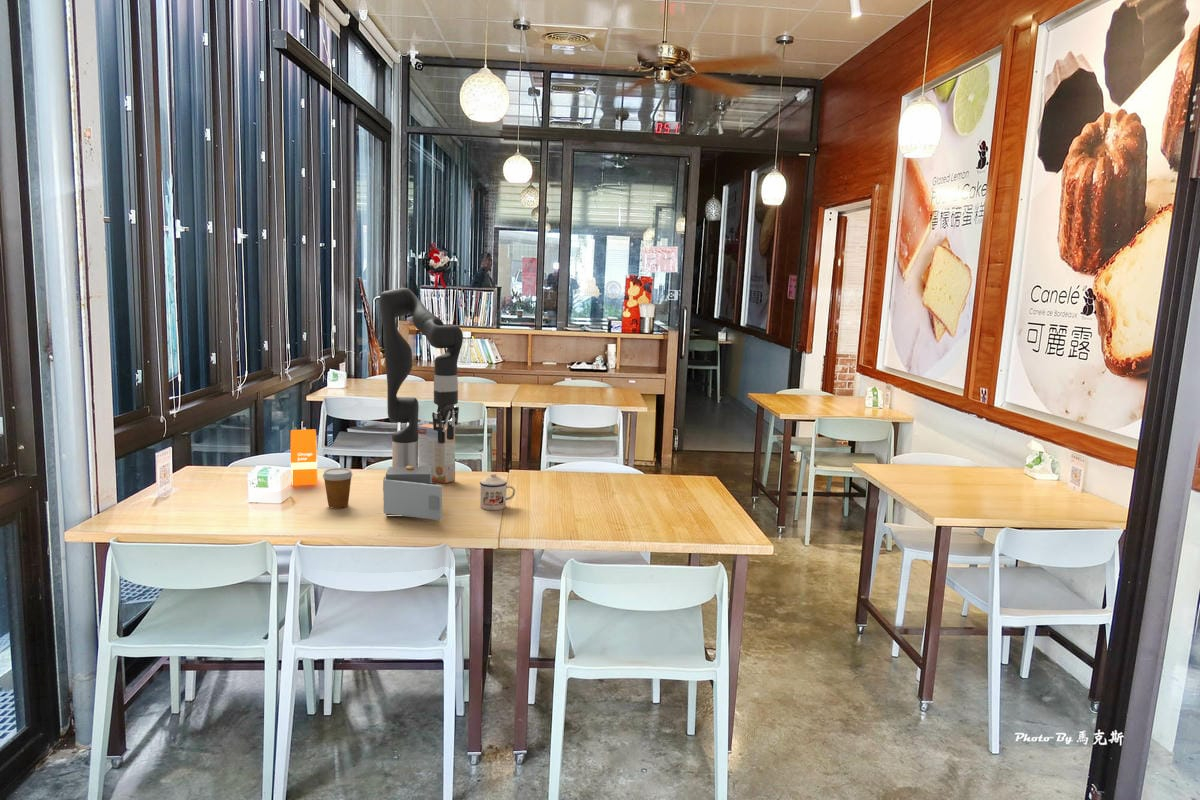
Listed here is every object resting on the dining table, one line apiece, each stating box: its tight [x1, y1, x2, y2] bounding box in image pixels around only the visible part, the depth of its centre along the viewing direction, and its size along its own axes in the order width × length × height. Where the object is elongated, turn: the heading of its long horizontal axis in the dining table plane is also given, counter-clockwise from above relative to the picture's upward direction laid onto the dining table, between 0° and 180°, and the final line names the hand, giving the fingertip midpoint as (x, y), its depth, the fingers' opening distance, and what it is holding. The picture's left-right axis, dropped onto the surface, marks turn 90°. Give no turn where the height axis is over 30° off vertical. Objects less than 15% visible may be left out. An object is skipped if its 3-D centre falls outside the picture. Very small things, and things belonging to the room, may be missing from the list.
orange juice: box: [290, 428, 319, 487], centre depth 290 cm, size 8×9×20 cm
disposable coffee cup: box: [322, 467, 353, 509], centre depth 263 cm, size 10×10×12 cm
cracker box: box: [418, 423, 456, 484], centre depth 299 cm, size 14×6×21 cm, turn 58°
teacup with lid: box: [479, 472, 516, 511], centre depth 268 cm, size 12×9×12 cm
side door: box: [382, 479, 443, 521], centre depth 249 cm, size 2×20×11 cm, turn 74°
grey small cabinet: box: [382, 466, 438, 516], centre depth 259 cm, size 10×17×15 cm, turn 99°
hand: (445, 441), depth 250 cm, fingers open, 5 cm apart
